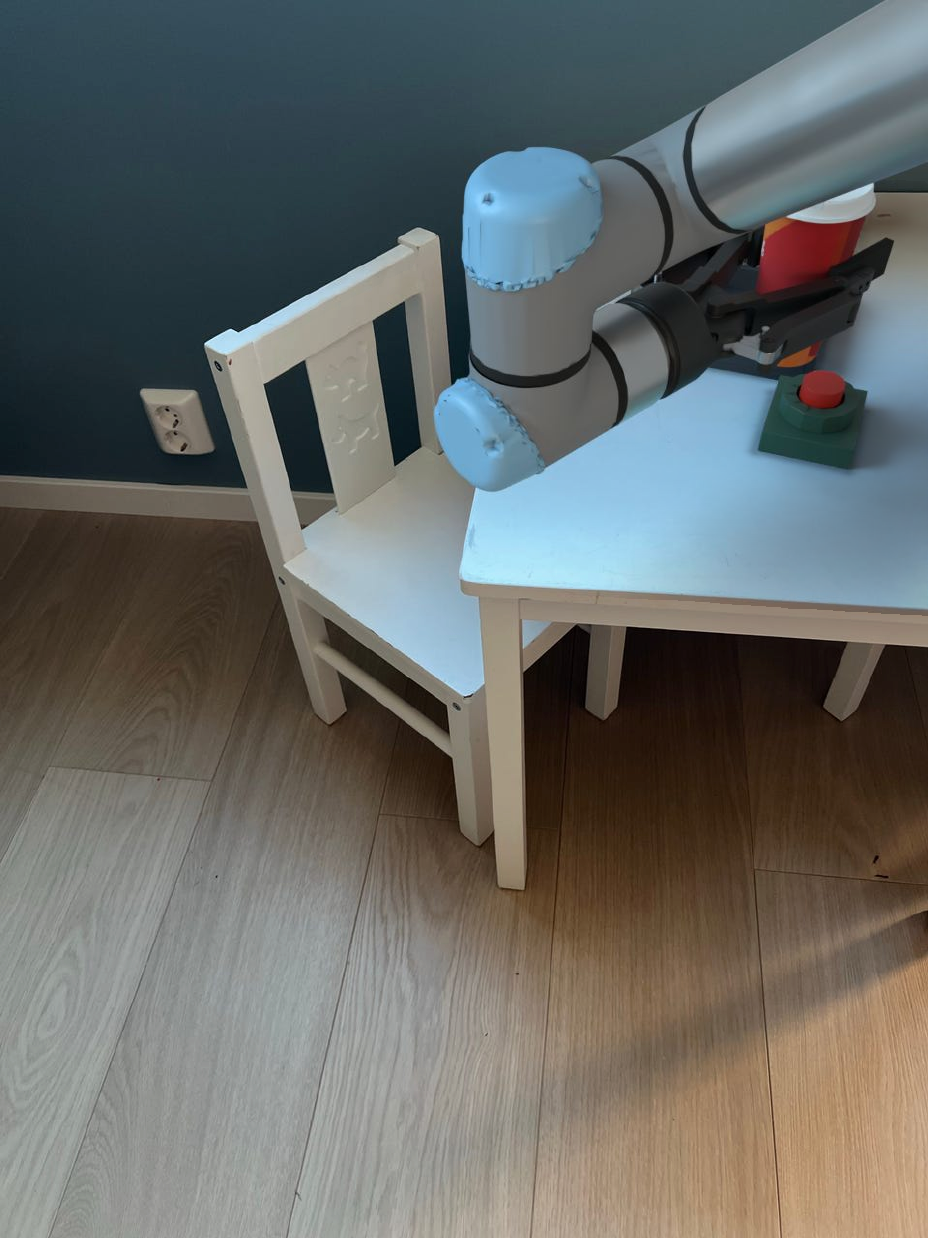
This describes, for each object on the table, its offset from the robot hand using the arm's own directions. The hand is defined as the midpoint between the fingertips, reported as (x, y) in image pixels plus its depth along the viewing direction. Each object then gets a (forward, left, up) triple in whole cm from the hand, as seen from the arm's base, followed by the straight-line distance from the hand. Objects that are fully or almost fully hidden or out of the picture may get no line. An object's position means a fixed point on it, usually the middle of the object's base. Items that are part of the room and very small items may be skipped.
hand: (844, 238), depth 72 cm
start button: (-2, +1, -14) cm, 15 cm away
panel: (-2, +1, -18) cm, 18 cm away
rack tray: (+7, -13, -18) cm, 24 cm away
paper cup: (+2, +4, -8) cm, 9 cm away
